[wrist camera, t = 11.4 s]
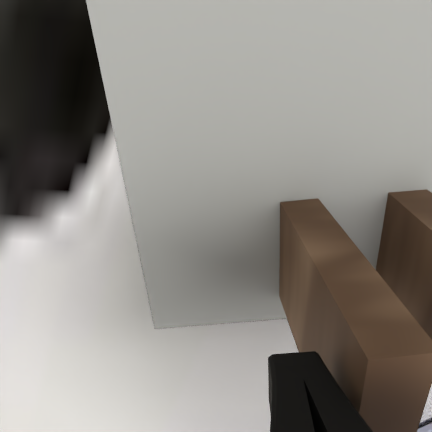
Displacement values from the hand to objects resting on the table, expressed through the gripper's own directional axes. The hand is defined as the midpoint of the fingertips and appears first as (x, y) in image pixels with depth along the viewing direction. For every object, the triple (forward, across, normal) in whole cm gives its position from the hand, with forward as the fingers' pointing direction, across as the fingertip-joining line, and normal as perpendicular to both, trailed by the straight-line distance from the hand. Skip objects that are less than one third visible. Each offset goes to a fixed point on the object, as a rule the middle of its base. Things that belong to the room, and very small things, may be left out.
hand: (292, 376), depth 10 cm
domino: (+6, -2, 0) cm, 7 cm away
